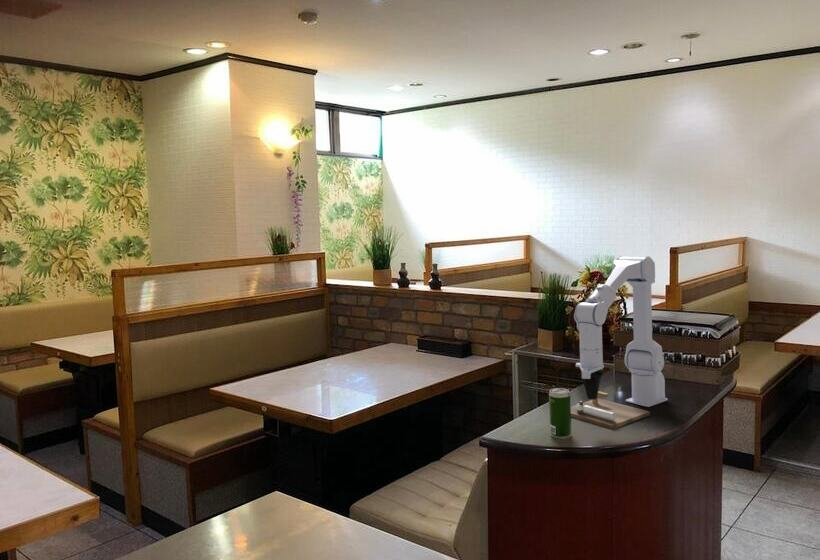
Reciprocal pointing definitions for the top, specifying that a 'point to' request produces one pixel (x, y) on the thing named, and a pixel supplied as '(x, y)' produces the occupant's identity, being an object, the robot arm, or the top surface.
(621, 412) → the board
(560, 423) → the beer can
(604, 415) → the steel link
